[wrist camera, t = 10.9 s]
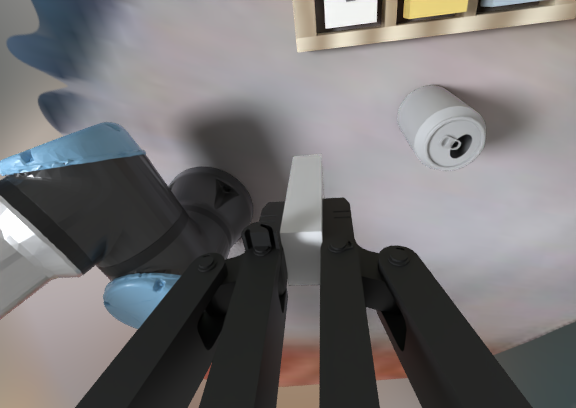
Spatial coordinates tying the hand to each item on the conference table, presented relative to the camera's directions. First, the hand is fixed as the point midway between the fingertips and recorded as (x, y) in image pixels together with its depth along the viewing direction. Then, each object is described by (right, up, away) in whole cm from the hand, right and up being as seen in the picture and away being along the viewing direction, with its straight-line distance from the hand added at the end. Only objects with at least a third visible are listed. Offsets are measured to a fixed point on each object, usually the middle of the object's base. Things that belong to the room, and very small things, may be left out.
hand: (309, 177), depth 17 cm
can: (+18, +11, +26) cm, 34 cm away
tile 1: (+6, +23, +19) cm, 30 cm away
